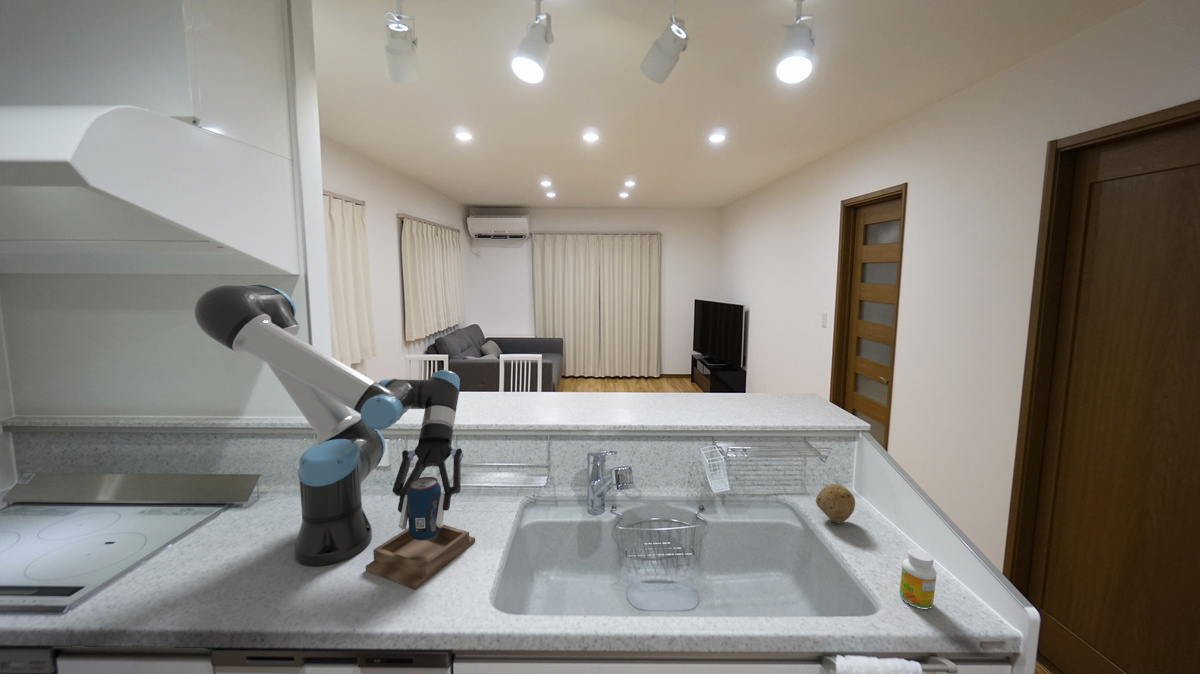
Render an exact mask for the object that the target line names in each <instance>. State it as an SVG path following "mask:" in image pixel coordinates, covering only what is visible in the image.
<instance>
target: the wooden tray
mask: <svg viewBox="0 0 1200 674" xmlns="http://www.w3.org/2000/svg"><path fill="white" fill-rule="evenodd" d="M475 542H476V537H474V536H470V532H469V531H466V530H462V529H459V528H456V527H453V526H450V525H446V524H444V523H443V525H442V528H441V530H440V532H439V534H438V535H437V536H436V537H434V538H432V539H429V540H425V541H418V540H415V539H414V538H413V537H412V536H411V535H410V533H409V527H406V529H405V530H403V531H401V532H399V533H398V534H397V535H395V536H393V537H391V538H389V540H386V541H385V542H383V543H381V544H380V545H379V546H377V547H375V548H373V561H371V562H369V563H368V564H365V571H366V572H369V573H372V574H375V575H377V576H378V577H379V576H380V577H382V578H385V579H387V580H390V581H393V582H395V583H398V584H400V585H403V586H404V587H407V588H410V589H412V590H416V589H418V588H419V587H421V585H423V584H424V583H425V582H427V581H428V580H430V578H431V577H433V576H435V575H436V574H437V573H438V572H439V571H441V570H442V569H444V567H445V566H447V565H448V564H449V563H451V562H452V561H453V560H454V559H455V558H456V557H458V556H459V555H461V554H462V553H463V552H465V550H467V549H468V548H469V547H471V546H472V545H473V544H475Z"/></svg>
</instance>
